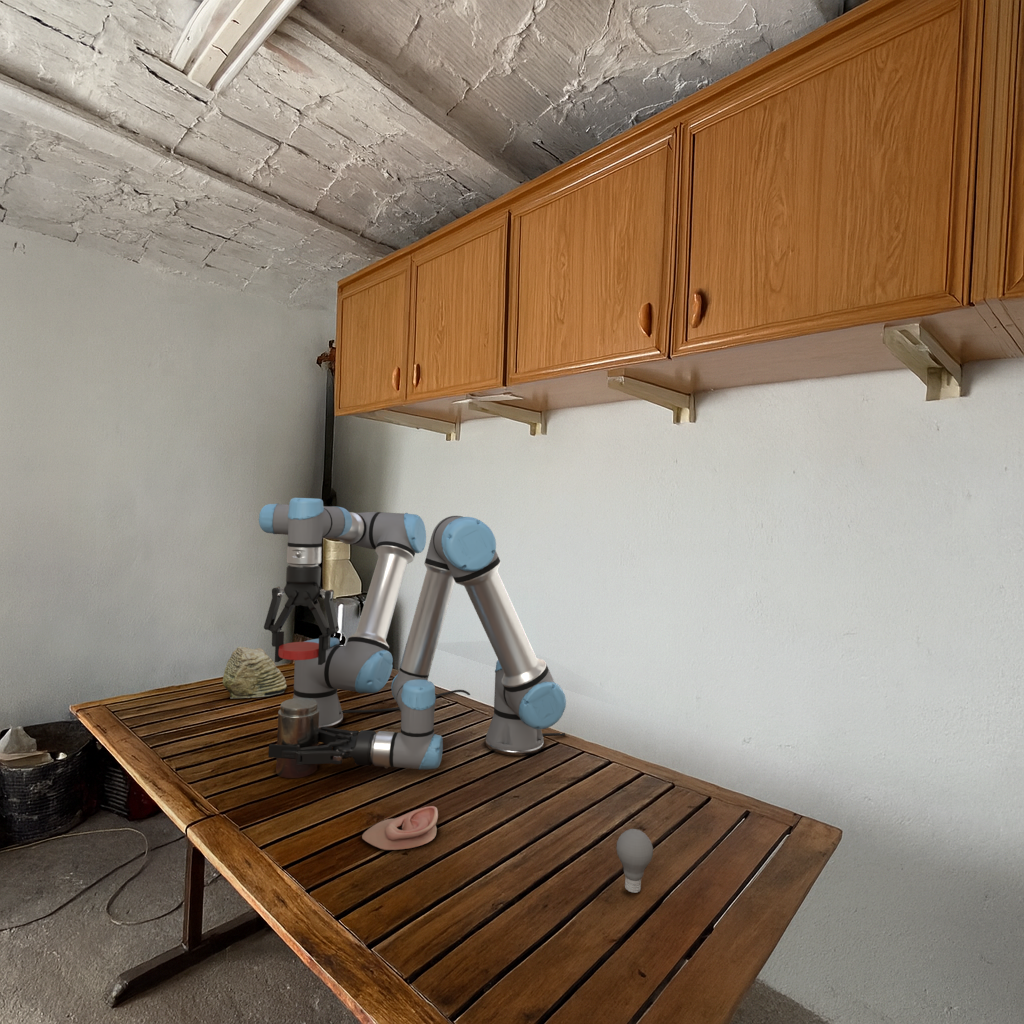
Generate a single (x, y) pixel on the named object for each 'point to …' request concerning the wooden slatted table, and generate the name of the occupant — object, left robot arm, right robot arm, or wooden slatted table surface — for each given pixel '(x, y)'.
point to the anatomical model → (404, 830)
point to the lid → (299, 650)
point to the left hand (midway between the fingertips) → (300, 662)
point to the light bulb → (634, 857)
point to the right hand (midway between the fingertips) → (278, 742)
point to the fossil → (252, 674)
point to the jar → (297, 734)
